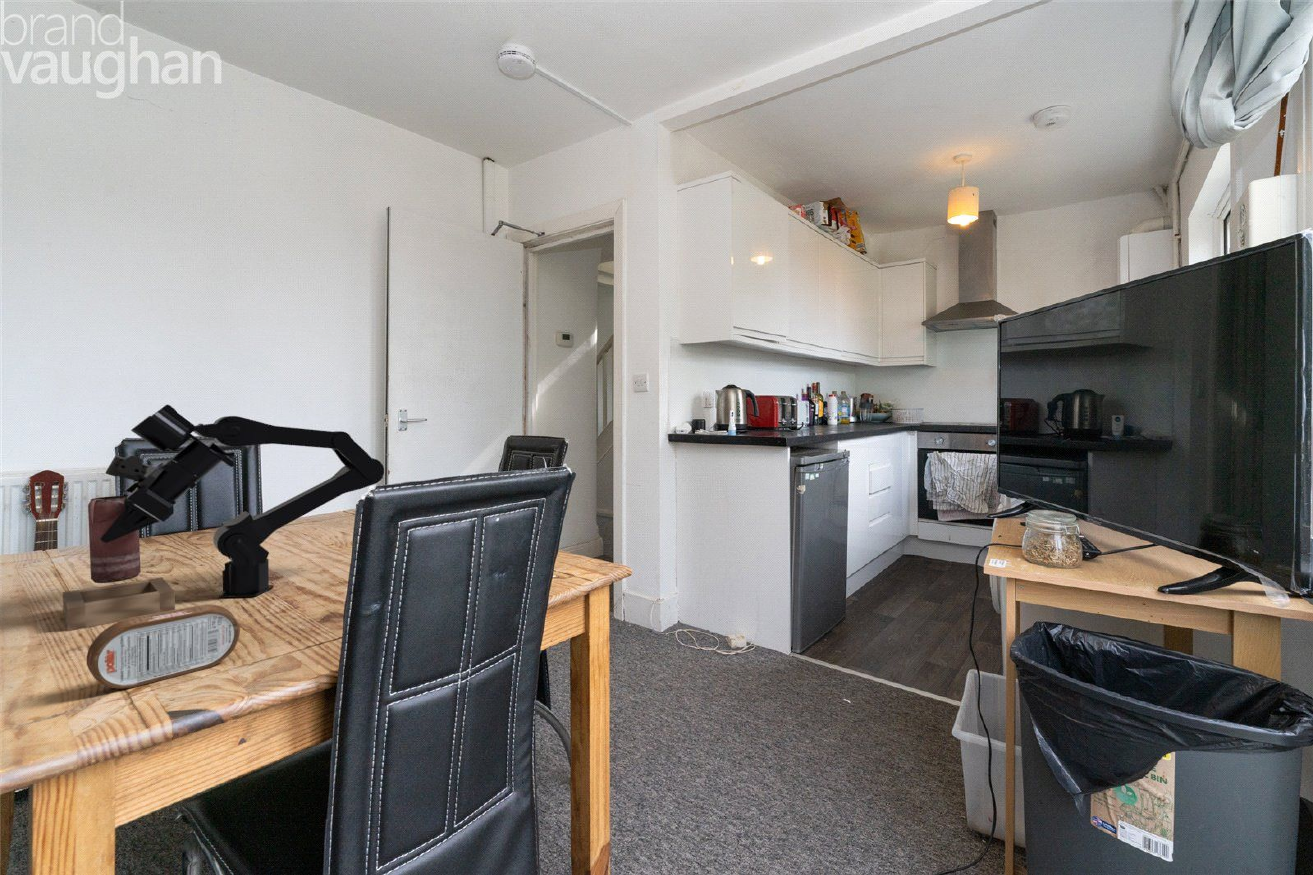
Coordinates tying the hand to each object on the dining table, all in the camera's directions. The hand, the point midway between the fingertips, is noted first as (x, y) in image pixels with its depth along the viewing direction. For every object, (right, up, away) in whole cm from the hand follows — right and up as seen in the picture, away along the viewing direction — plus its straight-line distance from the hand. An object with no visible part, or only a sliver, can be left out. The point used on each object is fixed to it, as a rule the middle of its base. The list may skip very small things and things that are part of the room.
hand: (103, 538), depth 95 cm
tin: (+30, -14, -22) cm, 40 cm away
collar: (0, -13, +3) cm, 14 cm away
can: (+1, -7, +1) cm, 7 cm away
